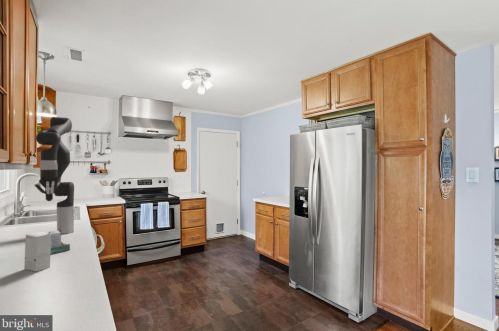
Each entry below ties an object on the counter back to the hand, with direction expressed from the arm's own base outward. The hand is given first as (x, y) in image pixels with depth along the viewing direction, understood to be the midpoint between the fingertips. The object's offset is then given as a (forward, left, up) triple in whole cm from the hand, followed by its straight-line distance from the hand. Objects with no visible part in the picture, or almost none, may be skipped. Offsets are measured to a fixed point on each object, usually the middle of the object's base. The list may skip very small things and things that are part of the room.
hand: (49, 200), depth 143 cm
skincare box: (+32, -13, -25) cm, 43 cm away
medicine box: (+8, 0, -25) cm, 26 cm away
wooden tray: (+3, 0, -25) cm, 25 cm away
